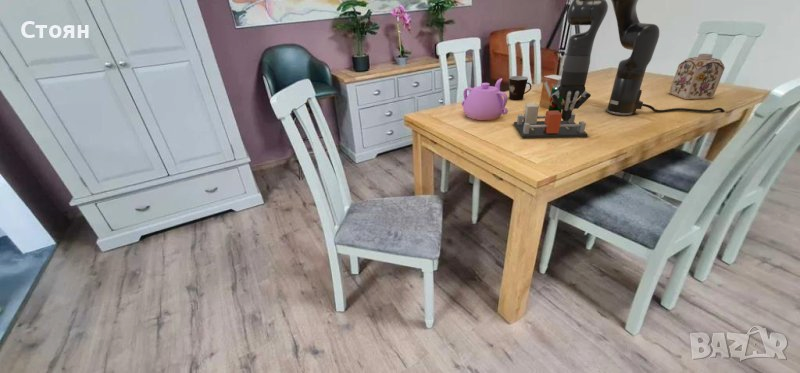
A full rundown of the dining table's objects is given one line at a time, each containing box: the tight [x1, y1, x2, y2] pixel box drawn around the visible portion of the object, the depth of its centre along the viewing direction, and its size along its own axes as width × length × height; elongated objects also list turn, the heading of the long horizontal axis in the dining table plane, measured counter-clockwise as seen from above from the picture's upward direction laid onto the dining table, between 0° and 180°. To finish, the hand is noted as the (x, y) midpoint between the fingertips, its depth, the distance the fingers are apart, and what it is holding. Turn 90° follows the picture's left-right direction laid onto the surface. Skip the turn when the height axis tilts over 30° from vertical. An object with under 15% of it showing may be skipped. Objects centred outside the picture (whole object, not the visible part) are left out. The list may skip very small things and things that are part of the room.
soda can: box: [547, 84, 563, 114], centre depth 138 cm, size 5×5×12 cm
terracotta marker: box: [543, 110, 562, 133], centre depth 118 cm, size 4×4×7 cm
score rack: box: [513, 112, 588, 139], centre depth 124 cm, size 22×15×5 cm
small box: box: [539, 74, 562, 109], centre depth 147 cm, size 8×6×13 cm
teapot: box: [461, 77, 509, 121], centre depth 142 cm, size 22×22×14 cm
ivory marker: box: [523, 102, 540, 124], centre depth 127 cm, size 4×4×7 cm
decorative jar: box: [668, 53, 726, 100], centre depth 148 cm, size 12×12×18 cm
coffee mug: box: [508, 75, 532, 102], centre depth 160 cm, size 12×9×10 cm
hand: (565, 120), depth 117 cm, fingers closed
